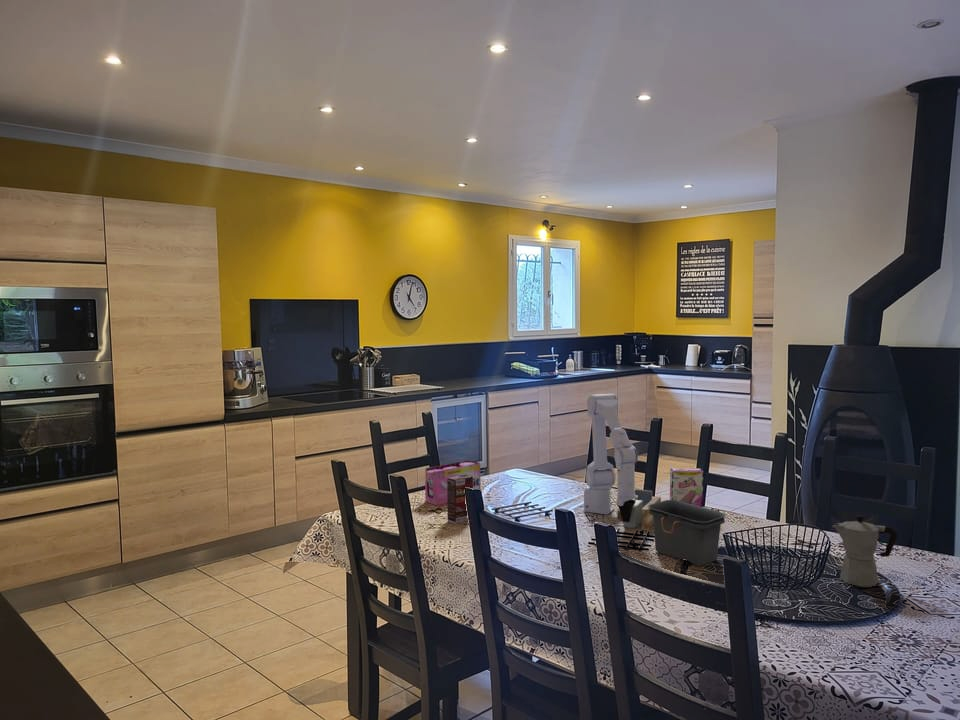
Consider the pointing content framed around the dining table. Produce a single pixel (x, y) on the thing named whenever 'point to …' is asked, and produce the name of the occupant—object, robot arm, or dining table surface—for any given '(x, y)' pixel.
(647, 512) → the shelf wall
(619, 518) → the walnut block
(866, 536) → the coffeepot
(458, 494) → the supplement box
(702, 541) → the storage bin
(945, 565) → the dining table surface
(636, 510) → the boxed book
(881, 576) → the dining table surface
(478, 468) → the gum box
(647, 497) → the bookend
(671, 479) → the candy bar box
